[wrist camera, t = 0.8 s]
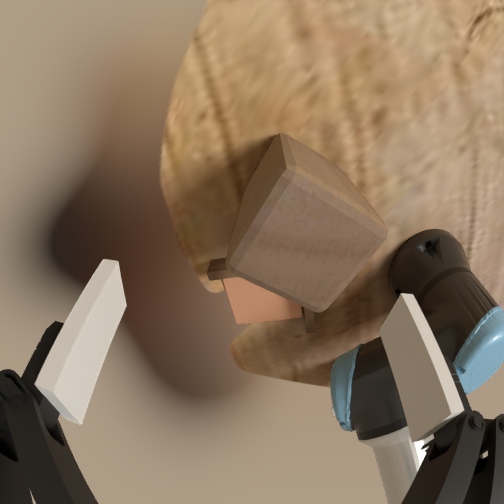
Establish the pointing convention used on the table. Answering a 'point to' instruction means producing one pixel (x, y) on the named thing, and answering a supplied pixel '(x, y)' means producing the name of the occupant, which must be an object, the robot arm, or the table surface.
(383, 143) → the table surface
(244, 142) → the table surface
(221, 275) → the arena
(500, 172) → the table surface
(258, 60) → the table surface
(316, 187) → the block
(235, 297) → the tile
